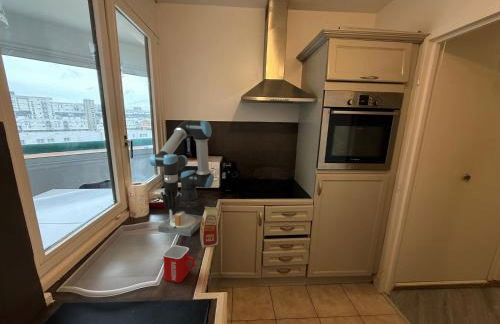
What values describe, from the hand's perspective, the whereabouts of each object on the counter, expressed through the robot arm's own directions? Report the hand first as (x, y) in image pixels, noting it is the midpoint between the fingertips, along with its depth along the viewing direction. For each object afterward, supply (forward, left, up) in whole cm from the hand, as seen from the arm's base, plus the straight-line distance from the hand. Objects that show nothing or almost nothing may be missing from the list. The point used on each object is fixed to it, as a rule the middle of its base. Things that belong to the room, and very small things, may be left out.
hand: (172, 219), depth 129 cm
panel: (-3, +5, -5) cm, 8 cm away
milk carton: (+9, +27, -5) cm, 29 cm away
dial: (-3, +5, -3) cm, 7 cm away
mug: (+37, +26, -5) cm, 46 cm away
